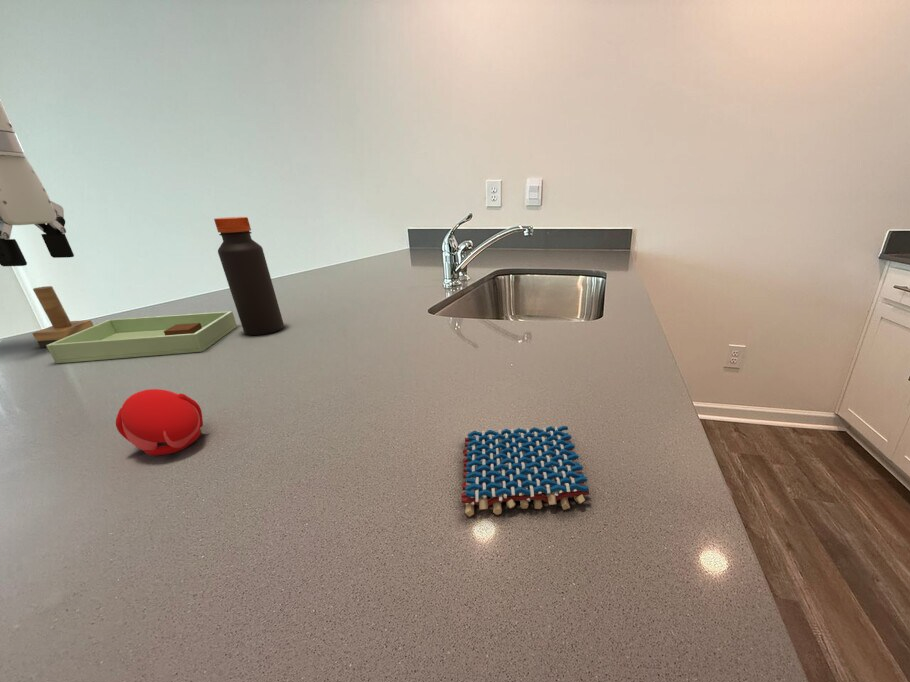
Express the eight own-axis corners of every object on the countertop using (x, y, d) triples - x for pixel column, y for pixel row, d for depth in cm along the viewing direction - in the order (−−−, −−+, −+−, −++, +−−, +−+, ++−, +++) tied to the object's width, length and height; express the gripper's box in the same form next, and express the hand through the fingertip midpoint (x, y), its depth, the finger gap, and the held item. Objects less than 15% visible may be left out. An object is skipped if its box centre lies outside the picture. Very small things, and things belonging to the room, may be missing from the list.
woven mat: (464, 444, 42) (462, 427, 41) (566, 438, 42) (567, 421, 41) (459, 518, 32) (458, 498, 31) (591, 509, 33) (593, 489, 32)
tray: (55, 363, 65) (45, 345, 63) (116, 335, 77) (108, 319, 76) (202, 351, 68) (195, 334, 67) (237, 326, 81) (232, 311, 79)
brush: (69, 345, 72) (40, 291, 68) (40, 347, 72) (9, 293, 67) (97, 333, 79) (72, 282, 74) (70, 335, 78) (44, 284, 74)
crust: (167, 342, 71) (163, 331, 70) (180, 334, 75) (175, 324, 74) (193, 340, 72) (189, 329, 71) (204, 333, 75) (200, 322, 74)
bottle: (272, 335, 75) (238, 218, 66) (236, 336, 75) (197, 219, 66) (291, 324, 81) (261, 216, 72) (257, 325, 81) (224, 217, 72)
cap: (226, 435, 44) (206, 385, 42) (167, 467, 39) (140, 413, 37) (179, 422, 47) (158, 375, 44) (118, 450, 42) (90, 399, 39)
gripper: (8, 150, 69) (55, 255, 76) (-113, 137, 53) (-38, 270, 61) (59, 151, 70) (102, 254, 77) (-43, 139, 55) (21, 269, 62)
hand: (40, 261), depth 69 cm, fingers open, 9 cm apart
